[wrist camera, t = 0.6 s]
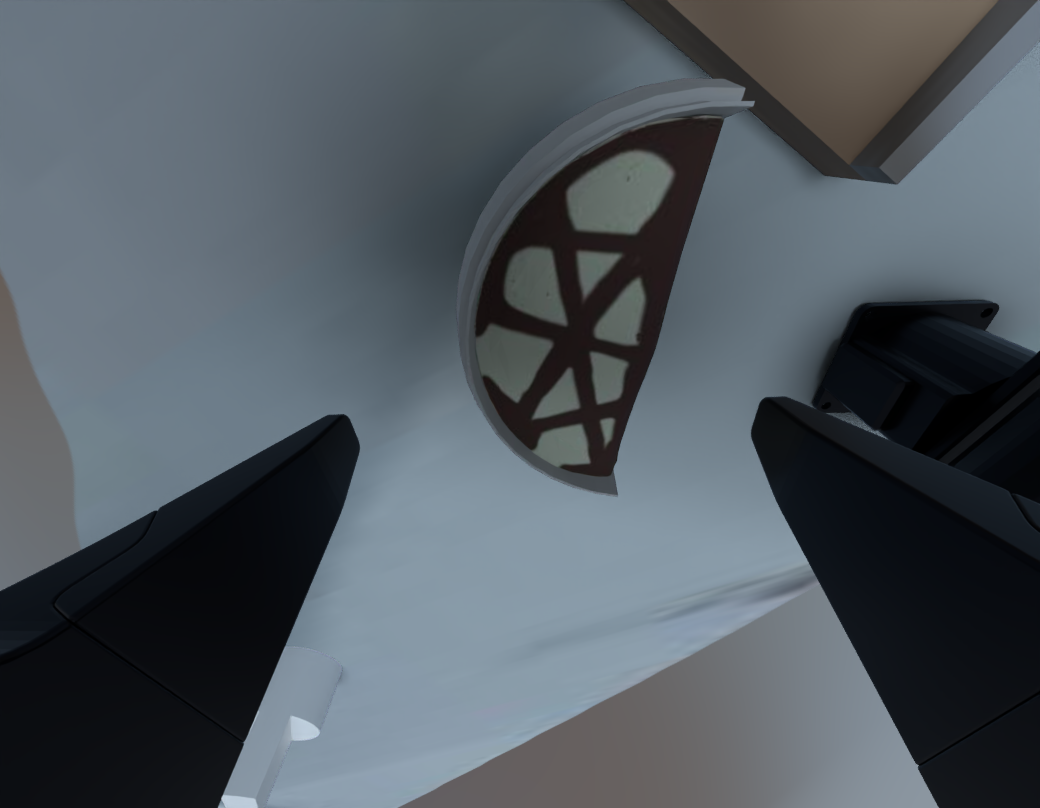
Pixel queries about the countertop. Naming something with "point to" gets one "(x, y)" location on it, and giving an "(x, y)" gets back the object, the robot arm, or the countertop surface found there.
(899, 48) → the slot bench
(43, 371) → the countertop surface
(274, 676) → the cylinder with rectangular tab
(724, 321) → the countertop surface
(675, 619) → the countertop surface
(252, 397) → the countertop surface
